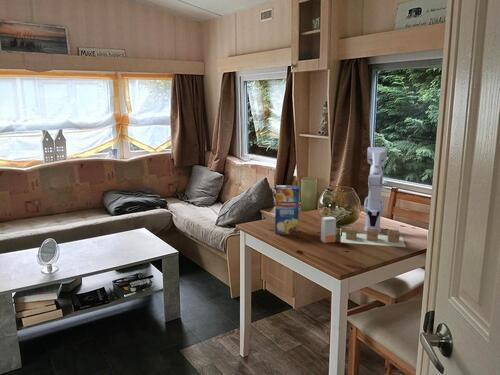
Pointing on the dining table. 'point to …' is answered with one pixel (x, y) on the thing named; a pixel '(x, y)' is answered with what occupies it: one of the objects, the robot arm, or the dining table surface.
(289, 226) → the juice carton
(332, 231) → the skincare box
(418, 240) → the dining table surface
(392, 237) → the one dot block
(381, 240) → the sage mat
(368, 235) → the plain block
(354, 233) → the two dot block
